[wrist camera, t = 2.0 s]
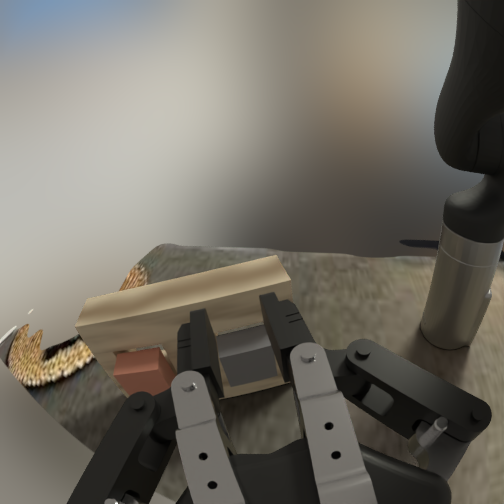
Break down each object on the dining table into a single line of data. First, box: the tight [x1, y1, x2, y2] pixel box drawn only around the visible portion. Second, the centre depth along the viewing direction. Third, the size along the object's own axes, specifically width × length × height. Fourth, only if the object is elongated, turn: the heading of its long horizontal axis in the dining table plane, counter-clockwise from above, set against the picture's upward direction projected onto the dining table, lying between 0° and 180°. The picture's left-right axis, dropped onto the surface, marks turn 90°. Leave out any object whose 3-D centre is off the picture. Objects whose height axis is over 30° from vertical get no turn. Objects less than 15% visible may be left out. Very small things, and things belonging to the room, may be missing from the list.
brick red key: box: [113, 347, 176, 396], centre depth 25 cm, size 3×5×5 cm, turn 101°
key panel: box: [75, 255, 293, 399], centre depth 30 cm, size 5×22×16 cm, turn 101°
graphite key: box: [216, 325, 278, 387], centre depth 26 cm, size 3×5×5 cm, turn 101°
